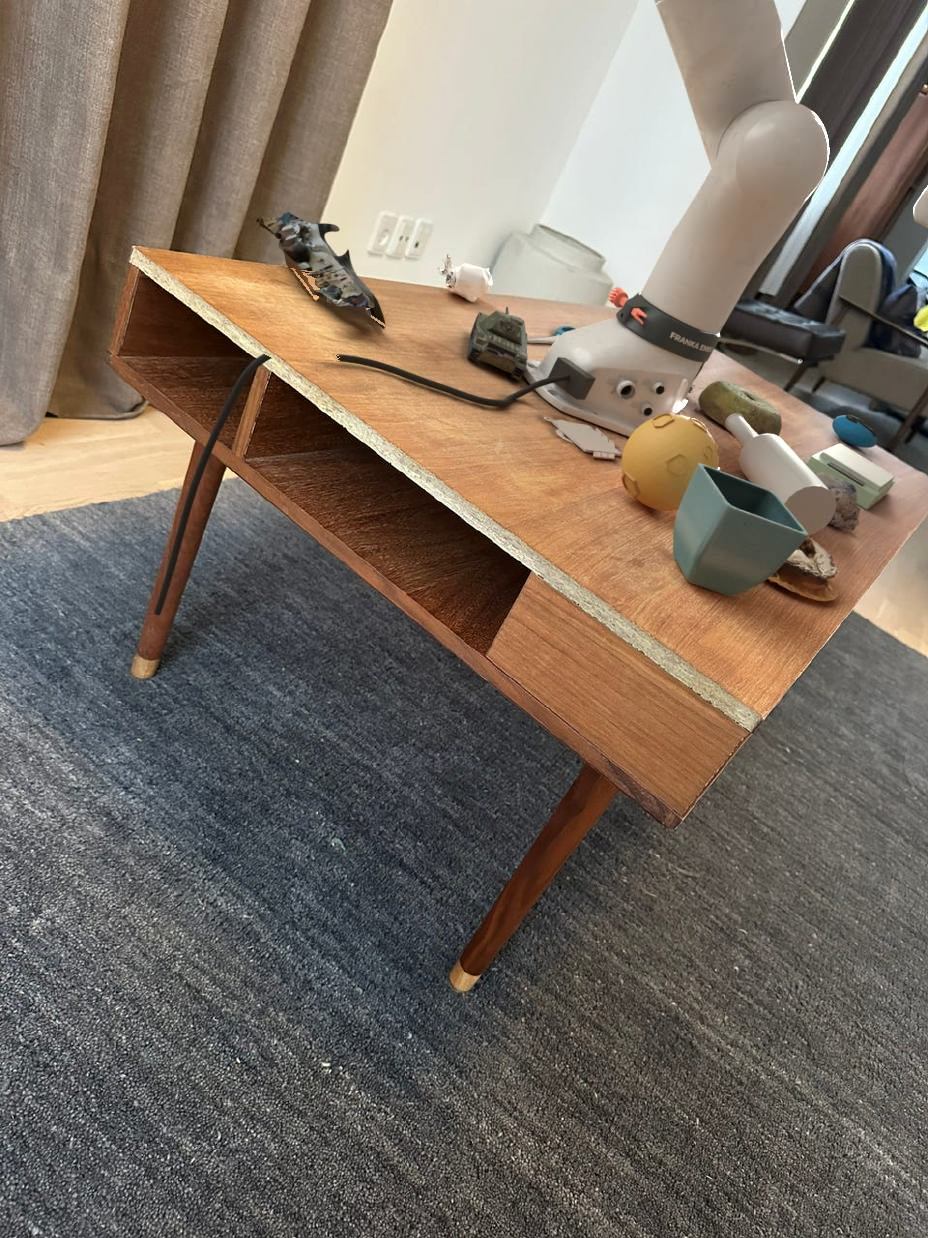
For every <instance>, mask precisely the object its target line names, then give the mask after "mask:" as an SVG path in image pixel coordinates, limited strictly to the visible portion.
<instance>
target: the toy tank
mask: <svg viewBox="0 0 928 1238" xmlns="http://www.w3.org/2000/svg"><path fill="white" fill-rule="evenodd" d="M514 296H515V295H513V297H512V298H511V299H510V300H511V301H510V303H509V305H508V306H506V307H505V312H502V311H499V310H495V311H493V312H492V313H490V314H486V313H483V312H481V311H478V313H477V315H476V318H475V320H474V322H473V324H472V328H471V331H470V335H469V339H468V344H467V345H468V346H467V352H466V357H467V358H468V359H470V360H472V361H474V362H477V361H478V360H480V361H481V362H484V363H486V364H489V365H491V366H493V367H495V368H498V369H500V370H502V371H505V372H506V373H509V376H510V378H512V379H516V380H518V381H521V379H522V377H523V376H524V375H523V373H524V370H525V369H526V366H527V359H528V343H527V339H528V333H527V330H526V323H525V320H524V319H522V317H518V316H517V315H516V316H515V315H513V314H510V313H509V307H510V305H511V302H512V300H513V299H514Z"/></svg>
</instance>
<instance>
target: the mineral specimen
mask: <svg viewBox="0 0 928 1238" xmlns="http://www.w3.org/2000/svg"><path fill="white" fill-rule="evenodd" d="M812 472H813V473H814V474H815V475H816V476H817V477H818V478H819V479H820V480H821V482H822V483H823V484H824V485H825V486H826V487H827V488H828V489H829V490H830V491H831V493H832V494H833V495H834V497H835V500H836V510H835V514H834V516H833V518H832V519H831V521H830V522H829V523H828V525H831V526H832V527H834V528H840V529H842V530H844V531H850V532H853V531H854V530H855V529H856V528H857V526H858V525H860V523H859V515H860V513H861V508H860V507H859V505H858V504H857V501H858V500H857V491H856V488H855V487H854V486H853V484H851V483H848V482H846V481H843V480H841V479H838V478H835V477H833V476H831V475H829V474H827V473H817V472H816V471H812Z"/></svg>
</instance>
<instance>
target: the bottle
mask: <svg viewBox="0 0 928 1238" xmlns="http://www.w3.org/2000/svg"><path fill="white" fill-rule="evenodd" d="M725 426H726V427H725V429H726V430H727V431H729V432H730V433H731V434H732V435H733V437H734V438H735V439H736V440H737V441H738V443H739V445H740V446H741V450H740V454H739V456H738V464H739V467H740V470H741V472H742V473H743V474H744V476H745V477H746V479H747V481H748V482H750V483H753V484H756V485H758V486H761V487H763V488H766V489H768V490H771V491H773V492H774V493H775V494H776V495H777V496H778V497H779V498H780V500H781V501H782V502H783V503H784V505H785V506H786V507H787V508H788V510H789V511H790V512H791V513H792V515H793V516H794V517H795V518H796V519H797V520H798V522H799V523H800V524H801V525H802V526H803V527H804V529H805V530H806V531H807V533H808V534H809V536H811V535H814V534H816V533H818V532H820V531H822V530H823V529H825V527H826V526H828V525H829V522H830V521H831V519H832V518H833V516H834V514H835V510H836V500H835V497H834V495H833V494H832V493H831V491H830V490H829V489H828V488H827V487H826V486H825V485H824V484H823V483H822V482H821V480H820V479H819V478H818V477H817V476H816V475H815V474H814V473H813V472H812V471H811V470H810V469H809V468H808V466H807V465H806V464H807V463H805V462H804V461H803V460H802V458H800V457H799V456H798V455H797V454H796V452H795V451H794V450H793V449H792V448H791V447H790V446H789V445H788V443H786V442H785V441H784V440H783V439H782V437H781V436H776V435H774V434H762V435H758V434H757V433H756V432H755V431H754V430H753V429H752V428H751V427H750V426H749V425H748V423H747V422H746V421H745V420H744V417H743V416H742V415H741V414H737V413H735V414H732V415H730V416H729V417H728V418H727V419H726V422H725Z"/></svg>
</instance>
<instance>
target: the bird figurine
mask: <svg viewBox="0 0 928 1238" xmlns="http://www.w3.org/2000/svg"><path fill="white" fill-rule="evenodd" d="M445 258H446V259H444V258H443V259H442V262H443V263H442V266H443V268H441V267H440V266H438V267H437V268H436V270H438V271H439V272H438V274H439V275H440V276H442V277H444V284H445V286H446V291H448V292H449V293H450V292H451V293H453V294H456V295H459V296H460V297H462V298H464V299H466V301H468V302H471V303H474V302H476V300H477V298H480V297H483V296H485V295H486V294H489V293H491V291H492V290H493V289H492V288H493V277H492V274H491V273H490V268H491V267H487V268H484V267H481V266H478V265H473V264H469V263H465V262H464V263H462V264H461V265H460V266H455V267H453V261H452V256H450V254H446V255H445ZM480 294H481V295H480Z"/></svg>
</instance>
